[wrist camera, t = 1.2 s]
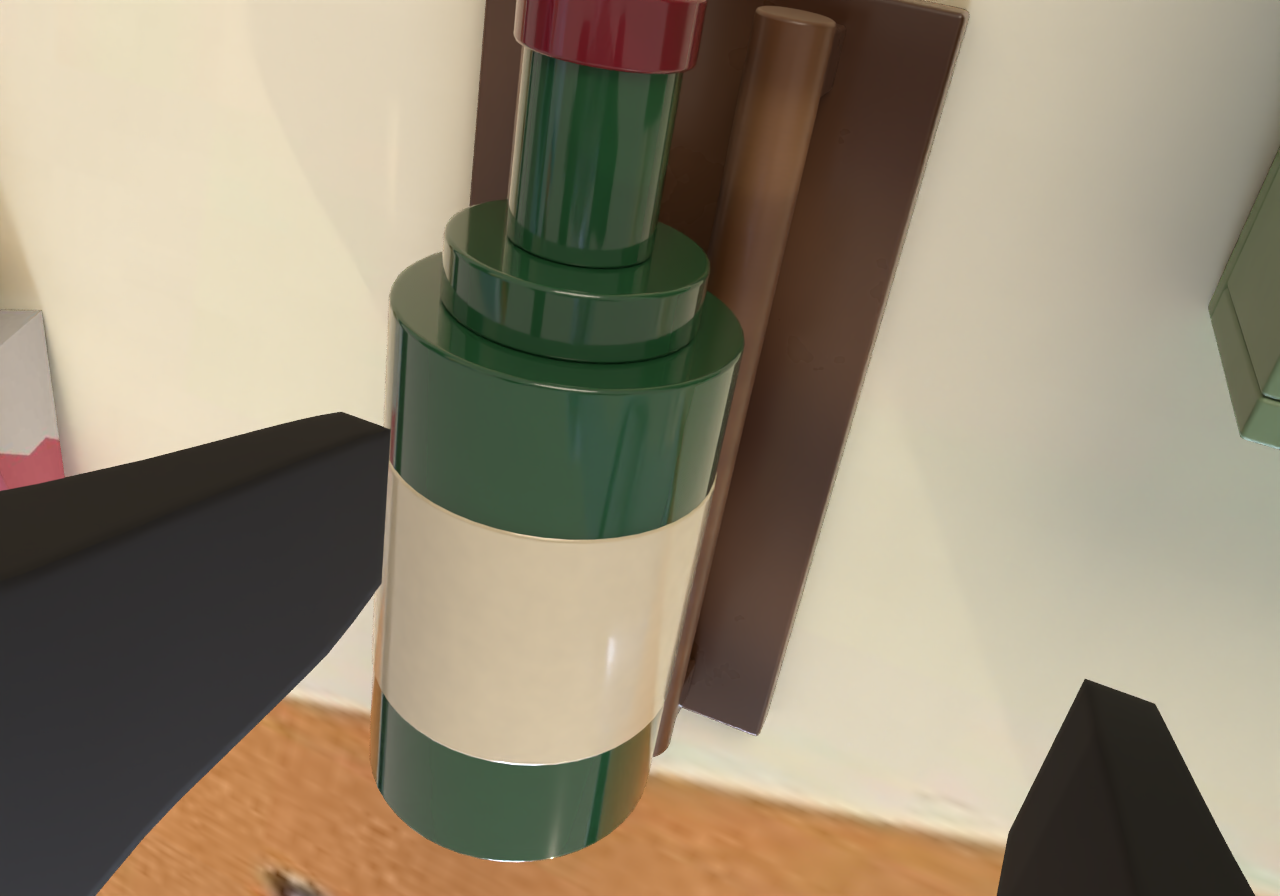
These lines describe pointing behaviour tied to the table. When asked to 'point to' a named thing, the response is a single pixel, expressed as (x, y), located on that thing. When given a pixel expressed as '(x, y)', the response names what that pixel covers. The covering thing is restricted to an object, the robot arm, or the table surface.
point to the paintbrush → (26, 403)
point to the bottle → (550, 456)
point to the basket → (1253, 318)
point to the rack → (775, 278)
